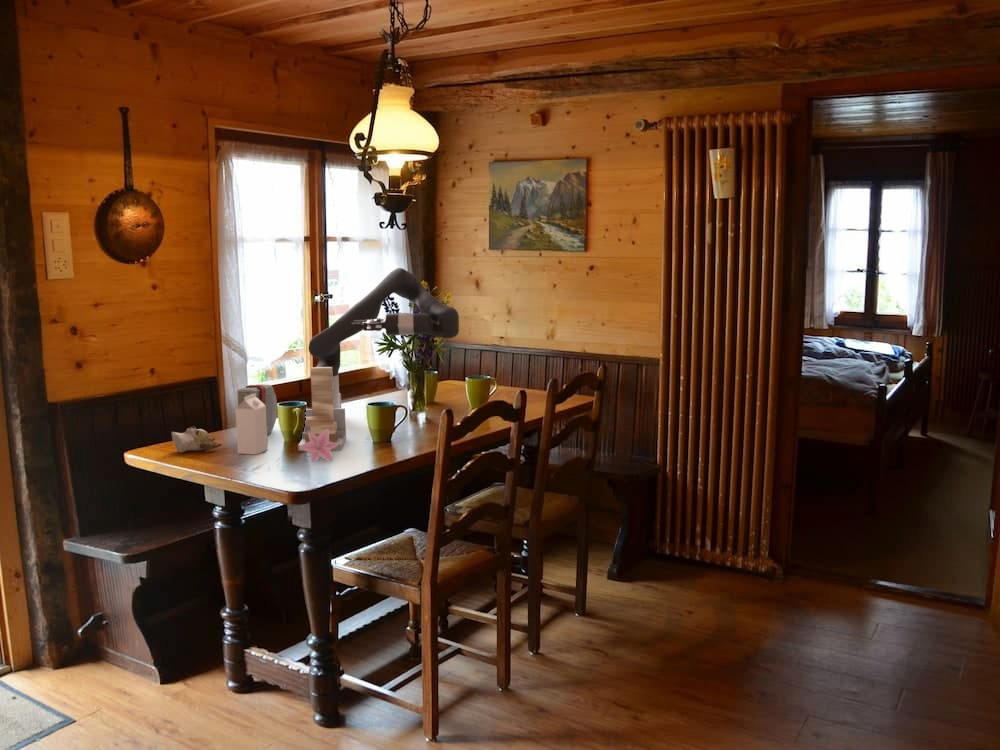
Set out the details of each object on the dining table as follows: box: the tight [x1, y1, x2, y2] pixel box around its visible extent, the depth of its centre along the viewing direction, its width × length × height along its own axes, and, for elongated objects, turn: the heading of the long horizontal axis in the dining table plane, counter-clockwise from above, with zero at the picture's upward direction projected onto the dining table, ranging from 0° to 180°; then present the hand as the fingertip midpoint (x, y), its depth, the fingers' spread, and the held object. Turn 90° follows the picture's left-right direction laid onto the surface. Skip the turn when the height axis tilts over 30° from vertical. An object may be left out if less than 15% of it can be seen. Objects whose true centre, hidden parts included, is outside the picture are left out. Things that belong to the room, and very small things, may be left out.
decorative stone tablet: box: [236, 384, 278, 436], centre depth 308 cm, size 19×6×30 cm
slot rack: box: [297, 407, 347, 452], centre depth 296 cm, size 16×14×11 cm
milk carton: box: [234, 393, 269, 455], centre depth 287 cm, size 7×7×19 cm
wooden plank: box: [310, 366, 334, 421], centre depth 299 cm, size 2×7×24 cm, turn 94°
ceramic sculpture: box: [171, 425, 223, 454], centre depth 290 cm, size 11×9×15 cm
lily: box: [299, 429, 338, 463], centre depth 278 cm, size 11×11×9 cm
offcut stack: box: [305, 416, 338, 443], centre depth 294 cm, size 6×10×8 cm, turn 94°
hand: (351, 325), depth 296 cm, fingers open, 8 cm apart
